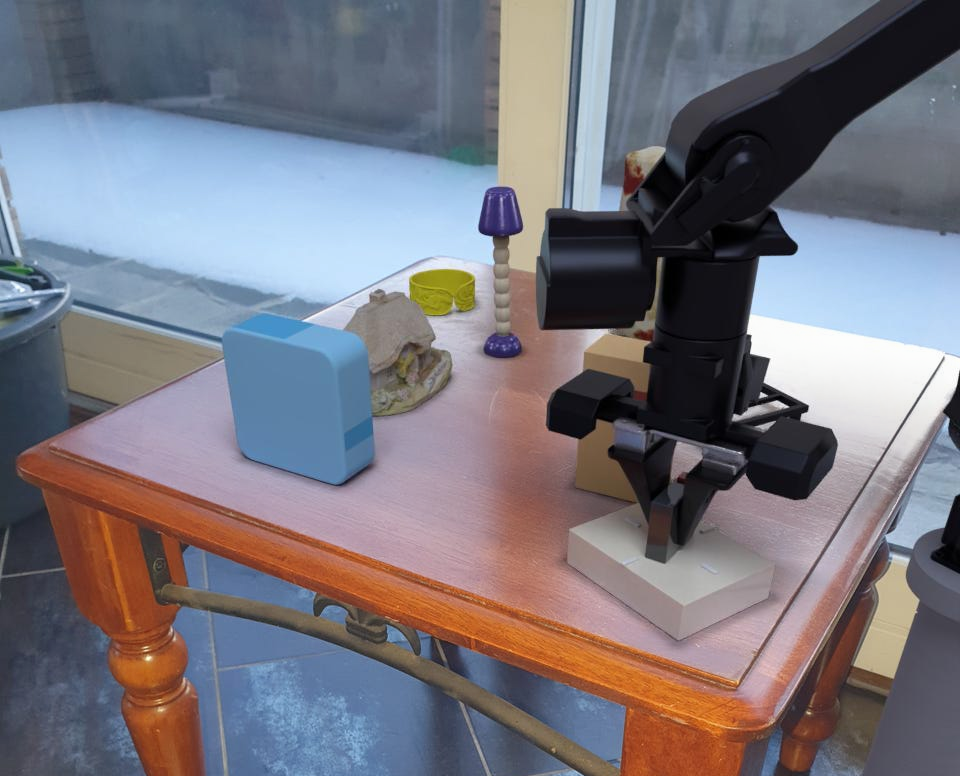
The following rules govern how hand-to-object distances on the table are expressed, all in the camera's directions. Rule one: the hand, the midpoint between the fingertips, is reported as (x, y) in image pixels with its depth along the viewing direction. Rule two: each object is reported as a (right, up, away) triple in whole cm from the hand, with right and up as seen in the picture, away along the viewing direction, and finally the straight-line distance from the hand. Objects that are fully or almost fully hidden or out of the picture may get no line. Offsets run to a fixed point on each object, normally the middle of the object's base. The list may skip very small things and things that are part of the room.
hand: (671, 539), depth 71 cm
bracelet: (-18, +34, +50) cm, 63 cm away
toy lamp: (-12, +25, +39) cm, 47 cm away
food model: (+6, +27, +41) cm, 50 cm away
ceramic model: (-23, +18, +30) cm, 42 cm away
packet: (-1, +6, +14) cm, 15 cm away
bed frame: (+8, +16, +27) cm, 33 cm away
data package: (-29, +8, +17) cm, 35 cm away
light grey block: (0, -3, +2) cm, 4 cm away
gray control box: (0, 0, 0) cm, 0 cm away
